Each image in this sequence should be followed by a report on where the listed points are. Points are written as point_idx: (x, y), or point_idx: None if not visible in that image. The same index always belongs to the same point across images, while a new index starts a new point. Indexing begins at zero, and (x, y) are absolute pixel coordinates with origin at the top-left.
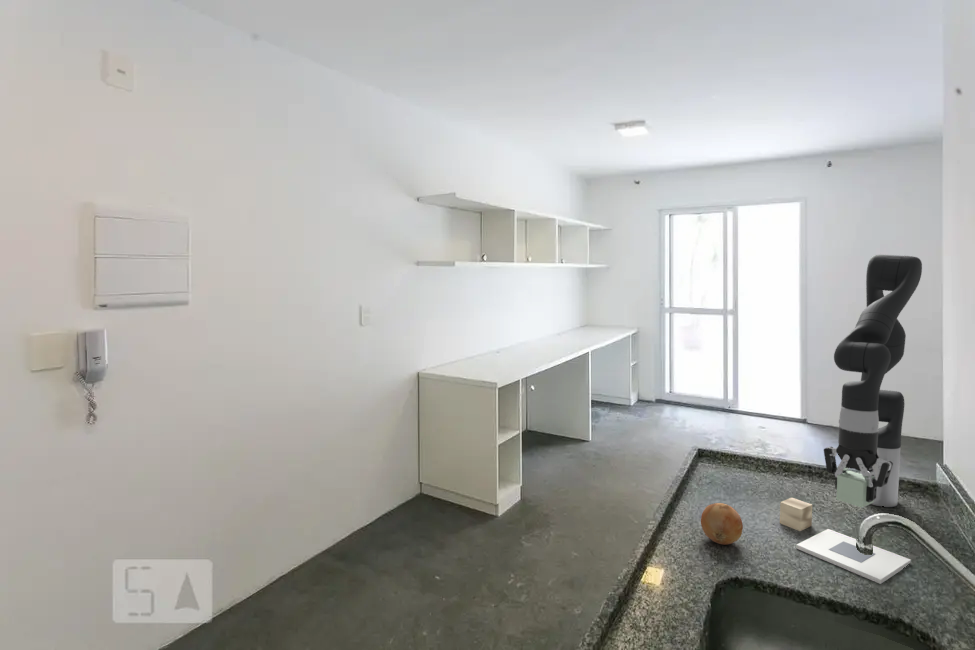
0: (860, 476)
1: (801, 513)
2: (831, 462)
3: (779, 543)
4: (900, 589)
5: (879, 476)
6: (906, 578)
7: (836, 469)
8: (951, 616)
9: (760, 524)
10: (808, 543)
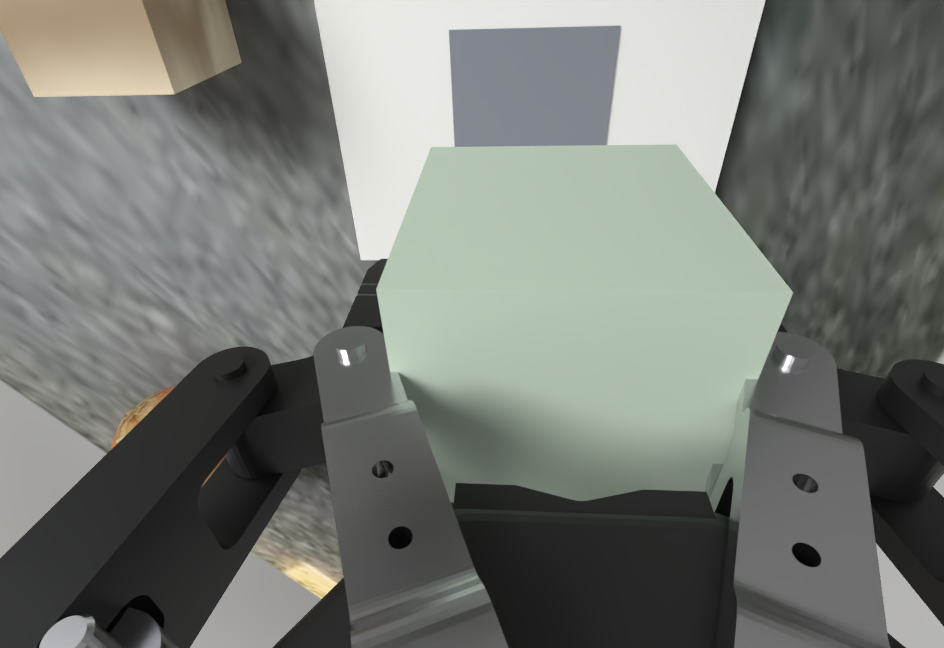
0: (605, 394)
1: (187, 80)
2: (227, 559)
3: (306, 265)
4: (759, 229)
5: (938, 602)
6: (773, 112)
7: (303, 437)
8: (926, 267)
9: (125, 170)
10: (376, 209)
